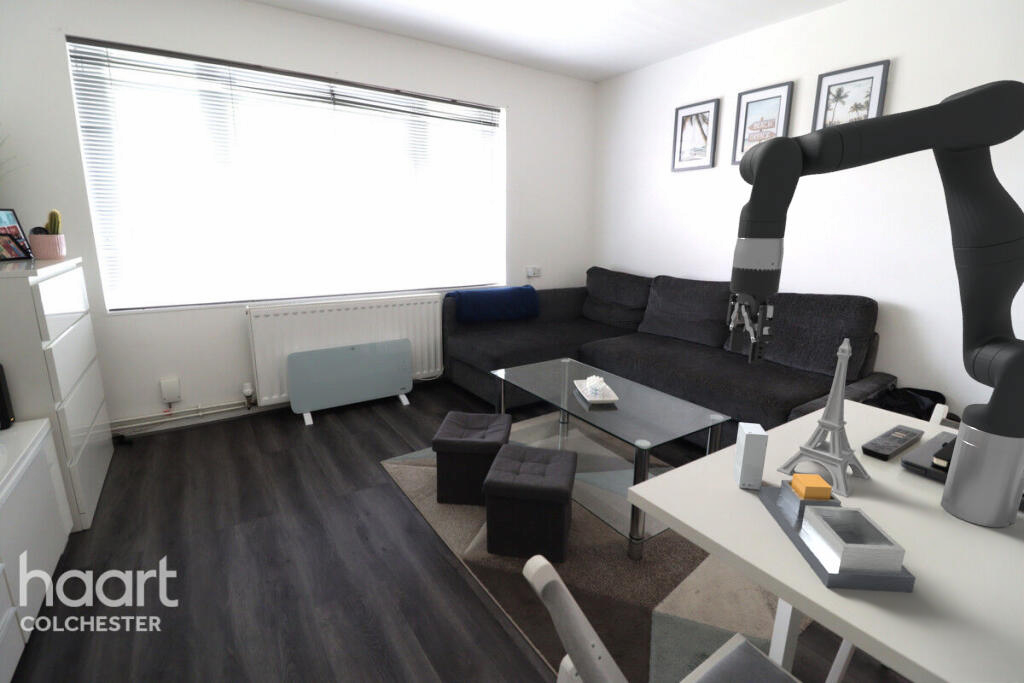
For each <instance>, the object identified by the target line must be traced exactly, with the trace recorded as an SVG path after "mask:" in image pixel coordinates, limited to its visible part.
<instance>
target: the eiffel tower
mask: <svg viewBox="0 0 1024 683" xmlns="http://www.w3.org/2000/svg"><path fill="white" fill-rule="evenodd" d="M852 350H853V349H852V346H851V344H850V338H844V339H843V342H842V343H841V345H840V346H839V347H838V351H837V353H836V356H837V358H838V359H837V364H836V368H835V373H834V377H833V381H832V384H831V389H830V392H829V395H828V398H827V401H826V405H825V408H824V410H823V413H822V416H821V418H819V419H818V420H817V423H818V424H817V427H816V429H815V430H814V431H813V433H812V434H811V436H810V437H809V439H808V440H807V441H805V442H804V443H802V444H801V445H799V447H798V448H799V450H798V451H797V452H796V453H795V454H794V455H792V456H791V457H790V458H789V459H787V461H785V462H784V464H782V465H781V466H779V467H778V468H777V469H776V471H777V472H779V473H782V474H784V475H787V476H791V475H793V474H795V472H796V470H795V469H796V467H797V466H798V465H799V464H800V463H803V462H804V463H805V462H815V463H818V464H820V465H823V467H825V468H826V469H827V470H828V472H829V473H830V475H831V478H832V481H833V484H832V485H833V486H832V490H831V493H832V494H837V495H839V496H841V497H844V498H848V497H849V496H850V495H851V494H852V491H851V489H850V487H849V481H848V476H847V474H848V472H847V471H848V467H849V468H851V472H852V473H851V476H852V477H854V478H857V479H859V480H862V481H867V480H868V479H870V478H871V475H870V474H869V473H868V472H867V470H866V469H865V467H864V466H863V465H862V463H861V462H860V460H859V459H858V457H857V455H855V452H856V449H855V448H852V447H851V445H850V442H849V439H848V435H847V431H846V429H845V428H846V427H845V425H846V424H848V423H847V421H846V420H845V415H844V414H845V412H844V411H845V389H846V382H847V381H846V379H847V371H848V363H849V358H850V357H851V356H852V354H853V353H852ZM829 433H830V436H829ZM828 436H829V440H827V438H828Z"/></svg>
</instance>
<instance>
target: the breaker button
mask: <svg viewBox="0 0 1024 683" xmlns="http://www.w3.org/2000/svg"><path fill="white" fill-rule="evenodd" d="M791 480H792V485H791V487H792V488H793V489H794V490H795V491H796V492H797V493H798V494H799V495H800V496H801V498H807V499H829V500H830V495H831V493H832V492H831V490H833V486H831V485H830V484H829V483H828V482H827V481H825V479H824V478H822V477H821V476H820V475H819V474H811V473H792V479H791Z"/></svg>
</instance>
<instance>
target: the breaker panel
mask: <svg viewBox="0 0 1024 683" xmlns="http://www.w3.org/2000/svg"><path fill="white" fill-rule="evenodd" d="M791 485H792V479H782V480H781V484H780V486H762V485H761V486H760V488H759V490H758V496H757V498H758V500H759V501H760V502H761V503H762V505H763V507H765V509H766V511H767V512H768V513H769V514H770V515H771V517H772V518H773V519H774V520H775V522H776V524H778V526H779V527H780V529H781V530H782V531H783V532H784V534H785V535H786V536H787V537H788V539H789V540H790V542H791V543H792V544H793V546H794V547H795V548H796V550H797V551H798V552H799V553H800V555H801V556H802V558H804V560H805V562H807V564H808V565H809V566H810V568H811V570H813V572H814V573H815V574H816V576H817V577H818V578H819V580H820V581H821V582H822V584H823V585H824V587H825V588H827V589H828V588H829V589H848V590H862V591H865V590H867V591H880V592H881V591H882V592H897V593H900V592H901V593H913V591H914V586H915V582H916V579H917V578H916V576H915V575H913V573H912V572H910V571H909V570H908V569H907V567H905V566H904V565H903V563H904V559H905V554H906V549H905V548H904V547H903V546H902V545H901V544H900V543H898V541H896V540H895V539H894V538H893V537H892V536H891V535H890V534H889V533H888V532H887V531H886V530H884V529H883V528H882V527H881V526H880V525H879V524H878V523H877V522H876V521H874V520H873V519H872V518H871V517H870V516H869V515H868V514H867V513H866V512H865V511H863V509H862V508H861V507H848V506H847V507H846V506H842V501H841V500H840V499H839V498H838V497H837V496H835V494H834V493H833V492H831V495H830V500H829V499H807V498H801V496H800V495H799V494H798V493H797V492H796V491H795V490H794V489H793V488H792V487H791Z"/></svg>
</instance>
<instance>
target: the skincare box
mask: <svg viewBox="0 0 1024 683" xmlns="http://www.w3.org/2000/svg"><path fill="white" fill-rule="evenodd" d="M737 428H738V430H737V436H736V444H735V452H734V458H733V467H732V475H733V478H734V480H735V482H736V484H737V486H738V488H739V489H747V488H748V489H749V490H750V489H751V490H757V491H759V488H760V486H762V483H763V482H762V480H763V476H764V474H763V473H764V469H765V462H766V461H765V460H766V454H767V446H768V441H769V440H768V439H769V435H768V433H767V432H766V431H765V429H764V428H763V427H762V425H761V424H760V423H752V422H751V423H750V422H742V421H741V422H738V427H737Z"/></svg>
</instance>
